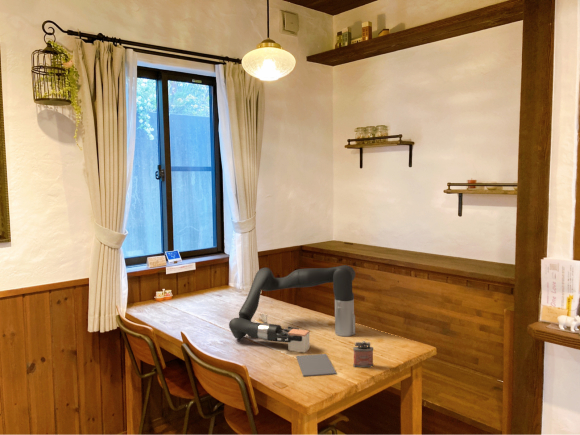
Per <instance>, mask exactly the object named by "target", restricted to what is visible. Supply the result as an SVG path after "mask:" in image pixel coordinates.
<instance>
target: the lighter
mask: <svg viewBox="0 0 580 435" xmlns="http://www.w3.org/2000/svg"><path fill="white" fill-rule="evenodd" d="M352 349H353V364H352V365H353V367H354V368H356V367H368V368H372V367H371V366H373V367H374V347H373V346H371V342H369V341H368V342H367V341H365V340H362V341H357V342H354V347H352Z"/></svg>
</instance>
